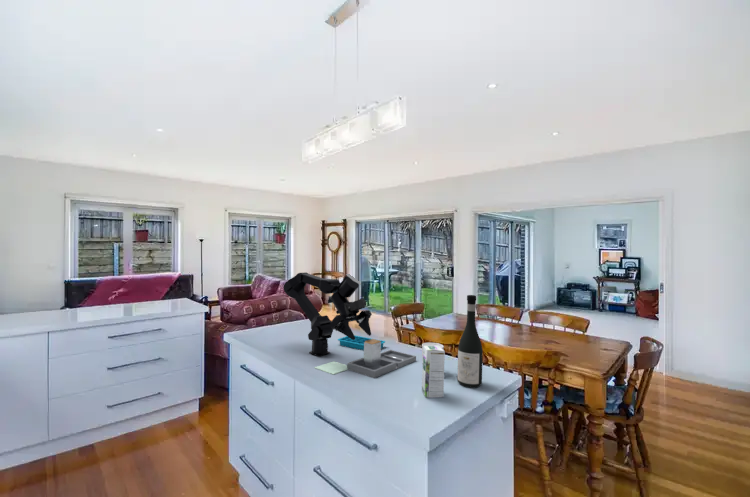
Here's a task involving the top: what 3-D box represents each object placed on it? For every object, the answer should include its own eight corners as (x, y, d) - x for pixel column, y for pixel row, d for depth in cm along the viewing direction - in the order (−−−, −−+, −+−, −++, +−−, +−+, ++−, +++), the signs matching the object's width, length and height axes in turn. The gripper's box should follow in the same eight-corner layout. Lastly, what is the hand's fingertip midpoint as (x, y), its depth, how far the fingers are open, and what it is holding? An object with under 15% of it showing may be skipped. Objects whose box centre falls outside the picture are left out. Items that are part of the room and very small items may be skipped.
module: (363, 369, 129) (364, 341, 129) (372, 366, 133) (372, 338, 133) (371, 372, 127) (372, 343, 127) (380, 368, 131) (381, 340, 131)
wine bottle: (477, 390, 113) (480, 297, 113) (454, 385, 117) (456, 295, 117) (484, 383, 119) (486, 295, 120) (461, 378, 124) (463, 293, 124)
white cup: (444, 370, 131) (445, 343, 131) (441, 377, 123) (442, 349, 124) (423, 367, 133) (424, 341, 134) (419, 374, 126) (420, 346, 126)
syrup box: (421, 390, 112) (422, 345, 112) (439, 390, 112) (440, 345, 112) (425, 398, 106) (426, 350, 106) (444, 397, 106) (445, 350, 106)
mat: (314, 368, 129) (314, 367, 129) (334, 362, 137) (334, 361, 137) (333, 375, 123) (333, 373, 123) (352, 368, 131) (352, 367, 131)
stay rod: (383, 357, 143) (383, 354, 143) (385, 356, 144) (385, 354, 144) (403, 362, 137) (403, 359, 137) (404, 361, 138) (404, 359, 138)
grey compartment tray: (347, 369, 129) (347, 362, 129) (390, 354, 150) (390, 348, 150) (374, 378, 121) (374, 371, 121) (416, 361, 141) (416, 354, 141)
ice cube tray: (372, 353, 151) (372, 346, 151) (336, 345, 162) (336, 339, 162) (386, 347, 161) (386, 341, 161) (351, 340, 172) (351, 334, 172)
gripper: (336, 293, 129) (357, 328, 122) (368, 290, 144) (389, 320, 137) (321, 312, 134) (341, 346, 127) (354, 307, 149) (373, 337, 142)
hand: (362, 337), depth 133 cm, fingers open, 9 cm apart
